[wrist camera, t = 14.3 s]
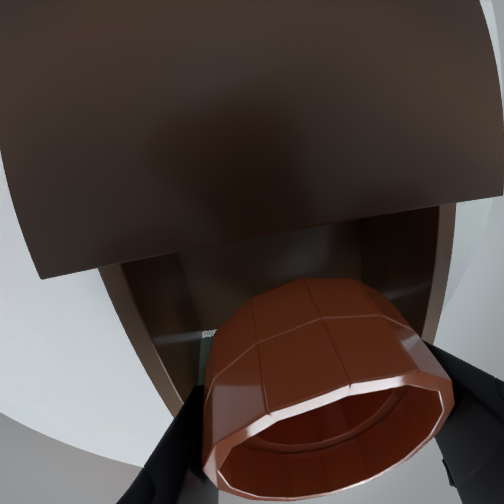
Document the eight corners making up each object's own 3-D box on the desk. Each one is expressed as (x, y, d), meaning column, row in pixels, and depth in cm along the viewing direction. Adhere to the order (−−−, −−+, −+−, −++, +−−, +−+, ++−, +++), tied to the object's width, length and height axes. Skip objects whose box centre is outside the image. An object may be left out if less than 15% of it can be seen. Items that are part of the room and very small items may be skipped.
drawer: (367, 365, 21) (406, 443, 14) (210, 397, 21) (210, 487, 14) (367, 103, 13) (471, 99, 6) (126, 141, 13) (38, 162, 6)
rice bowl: (398, 247, 8) (488, 329, 4) (379, 387, 11) (417, 464, 7) (183, 288, 8) (158, 412, 4) (231, 420, 11) (236, 510, 7)
